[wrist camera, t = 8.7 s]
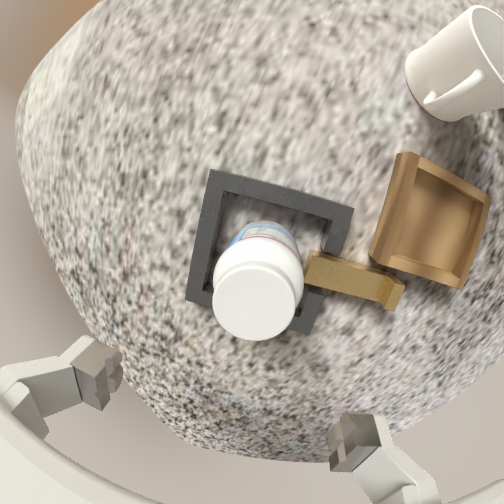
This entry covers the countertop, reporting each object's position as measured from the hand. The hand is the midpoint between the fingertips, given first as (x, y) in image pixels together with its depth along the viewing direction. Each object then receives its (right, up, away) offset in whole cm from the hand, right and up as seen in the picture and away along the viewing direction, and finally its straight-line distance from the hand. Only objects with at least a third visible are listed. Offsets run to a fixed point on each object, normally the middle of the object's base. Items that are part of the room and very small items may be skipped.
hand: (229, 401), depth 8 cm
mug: (+19, +21, +11) cm, 30 cm away
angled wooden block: (+10, +3, +17) cm, 20 cm away
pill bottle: (+2, +5, +18) cm, 18 cm away
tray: (+18, +8, +15) cm, 25 cm away
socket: (+2, +5, +17) cm, 18 cm away
